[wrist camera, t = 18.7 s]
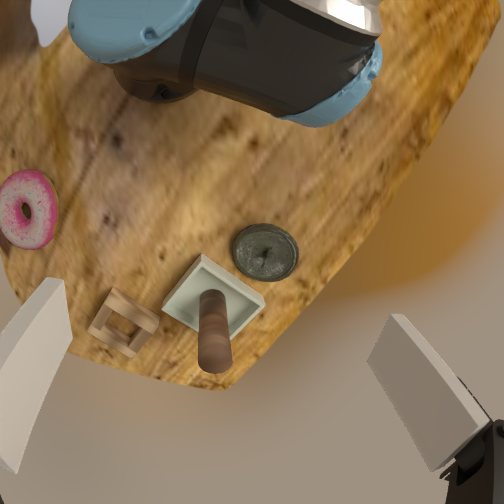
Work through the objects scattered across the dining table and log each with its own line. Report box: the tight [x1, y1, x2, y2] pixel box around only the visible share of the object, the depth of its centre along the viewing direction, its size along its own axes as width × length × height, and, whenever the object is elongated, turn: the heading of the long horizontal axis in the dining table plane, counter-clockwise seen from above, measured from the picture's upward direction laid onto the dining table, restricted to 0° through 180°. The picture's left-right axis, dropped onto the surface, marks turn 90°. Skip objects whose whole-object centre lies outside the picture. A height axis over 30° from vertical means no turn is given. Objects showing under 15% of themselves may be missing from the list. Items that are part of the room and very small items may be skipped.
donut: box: [0, 169, 60, 250], centre depth 37 cm, size 14×13×5 cm
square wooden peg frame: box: [87, 287, 160, 359], centre depth 48 cm, size 10×10×3 cm
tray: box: [161, 253, 265, 340], centre depth 49 cm, size 13×11×3 cm
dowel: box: [198, 289, 232, 374], centre depth 43 cm, size 4×4×15 cm
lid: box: [232, 223, 299, 282], centre depth 45 cm, size 11×10×5 cm
